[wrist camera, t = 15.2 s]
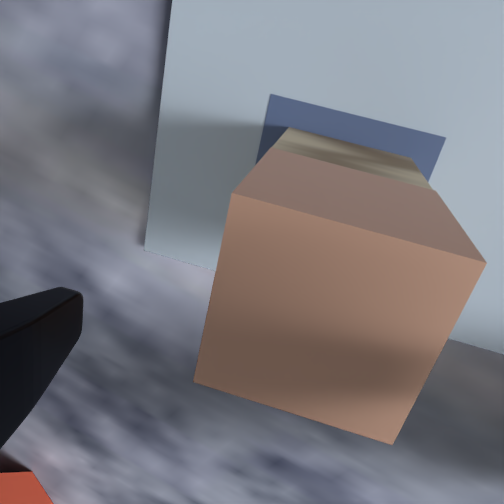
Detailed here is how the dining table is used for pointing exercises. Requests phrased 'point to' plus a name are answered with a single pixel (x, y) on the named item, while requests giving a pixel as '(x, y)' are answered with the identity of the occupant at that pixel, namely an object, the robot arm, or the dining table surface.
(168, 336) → the dining table surface
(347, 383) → the terracotta block
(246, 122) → the build board
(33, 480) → the french fries container
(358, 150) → the maple block
